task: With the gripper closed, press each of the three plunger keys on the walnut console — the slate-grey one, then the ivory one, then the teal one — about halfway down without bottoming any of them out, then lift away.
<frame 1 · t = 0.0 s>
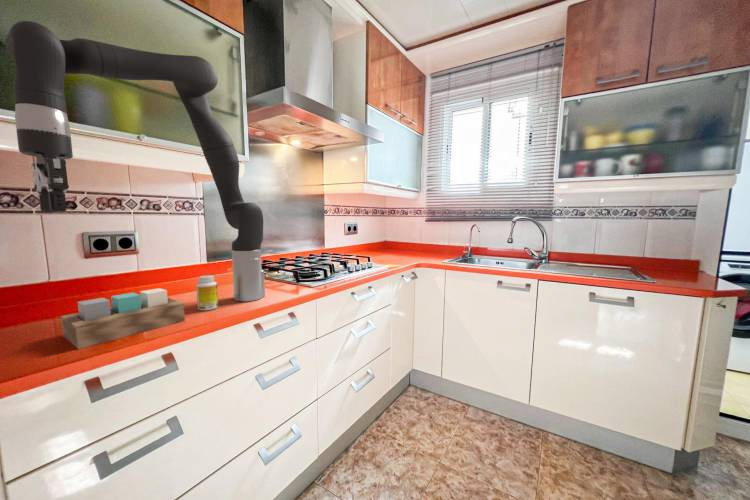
hand: (53, 211, 62), 29 cm above the counter, tool pointing down, fingers open, 8 cm apart
ivory key: (154, 298, 79), point 7 cm above the counter, slide at 0.0 cm
supplement bottle: (208, 309, 92), on the counter
console: (128, 328, 75), on the counter
teal key: (126, 303, 74), point 7 cm above the counter, slide at 0.0 cm
grey key: (94, 309, 69), point 7 cm above the counter, slide at 0.0 cm
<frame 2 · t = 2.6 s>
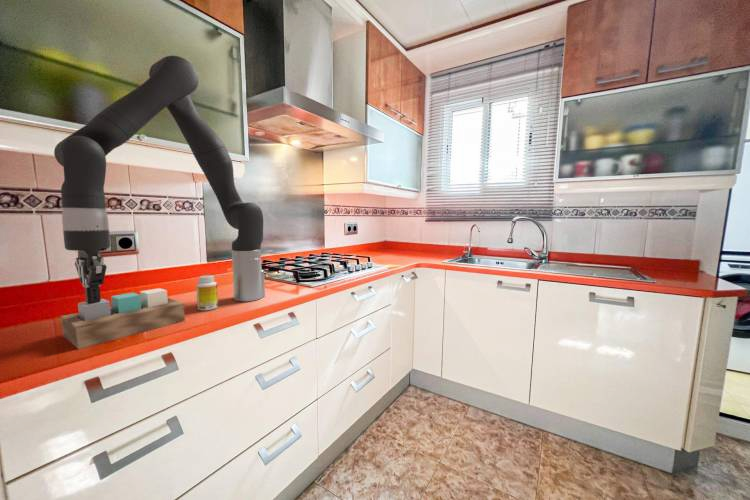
hand: (93, 302, 69), 8 cm above the counter, tool pointing down, fingers closed
grey key: (94, 310, 69), point 6 cm above the counter, slide at 0.3 cm, touching gripper
everything else where it was.
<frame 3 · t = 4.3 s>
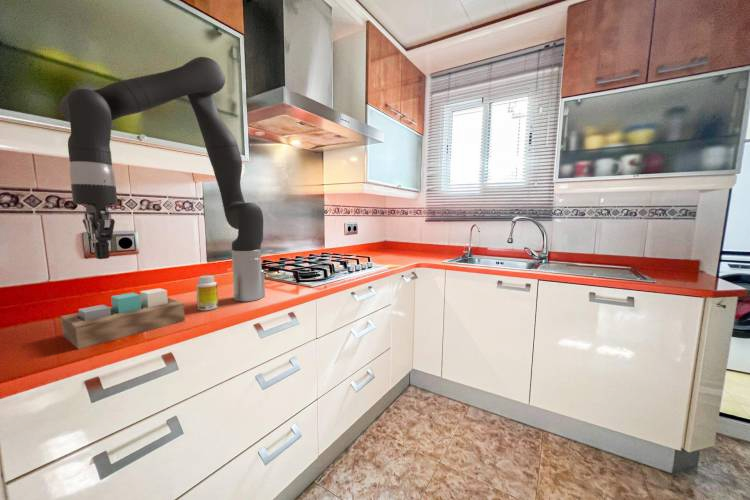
hand: (102, 258, 70), 18 cm above the counter, tool pointing down, fingers closed
grey key: (95, 316, 69), point 5 cm above the counter, slide at 1.7 cm
everything else where it was.
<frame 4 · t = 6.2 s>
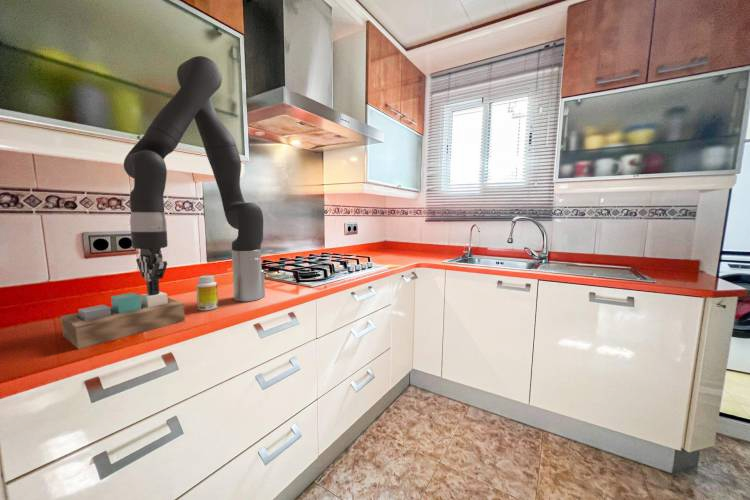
hand: (153, 294, 79), 8 cm above the counter, tool pointing down, fingers closed
ivory key: (154, 301, 79), point 6 cm above the counter, slide at 1.0 cm, touching gripper
everything else where it was.
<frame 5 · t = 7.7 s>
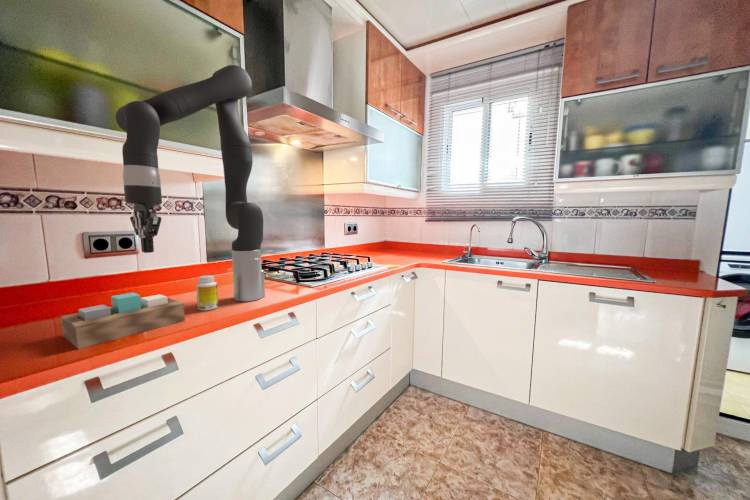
hand: (147, 252, 77), 19 cm above the counter, tool pointing down, fingers closed
ivory key: (154, 304, 79), point 5 cm above the counter, slide at 1.8 cm
everything else where it was.
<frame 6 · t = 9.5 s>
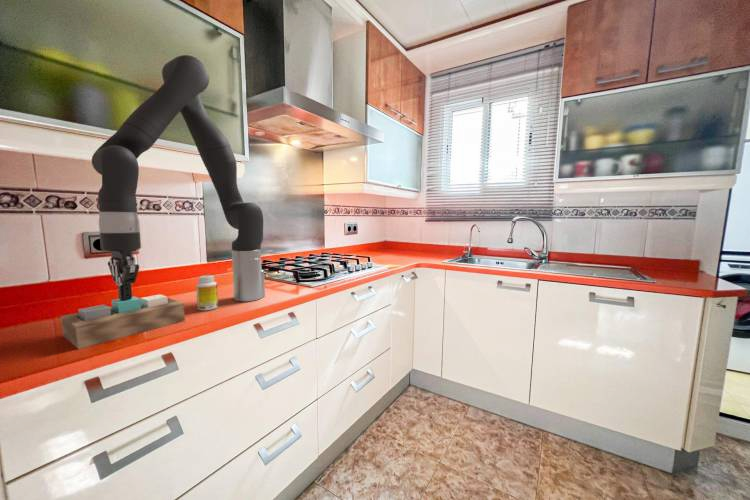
hand: (125, 299, 74), 8 cm above the counter, tool pointing down, fingers closed
teal key: (126, 307, 74), point 5 cm above the counter, slide at 1.0 cm, touching gripper
everything else where it was.
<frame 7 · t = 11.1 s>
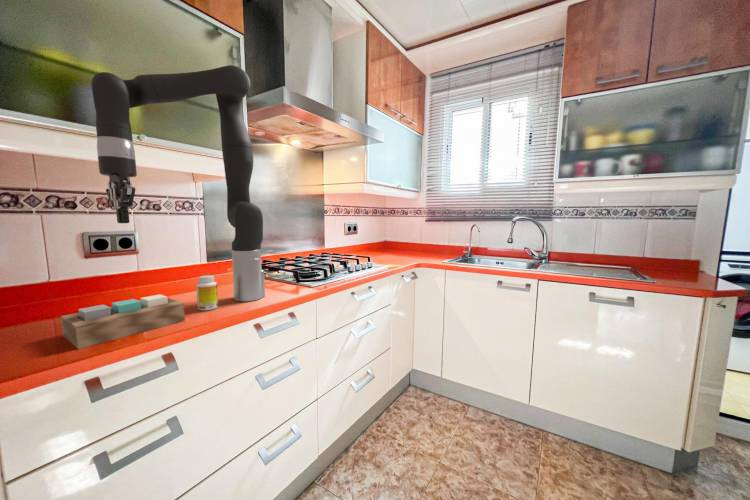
hand: (123, 223, 80), 27 cm above the counter, tool pointing down, fingers closed
teal key: (127, 309, 74), point 5 cm above the counter, slide at 1.7 cm
everything else where it was.
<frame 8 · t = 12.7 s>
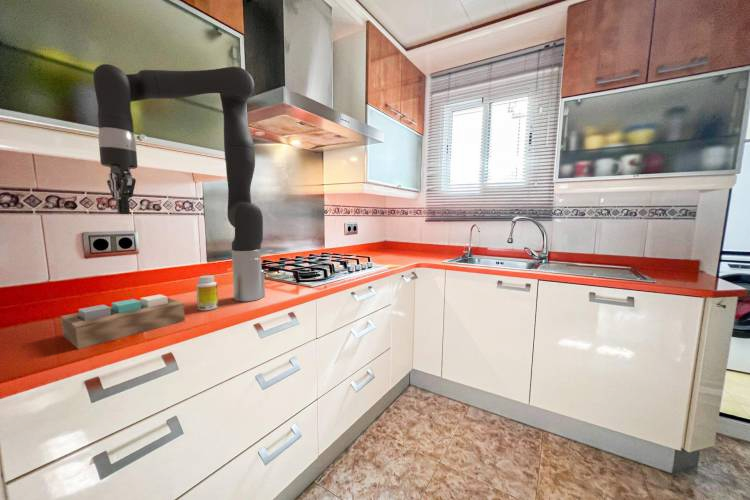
hand: (123, 213, 80), 29 cm above the counter, tool pointing down, fingers closed
nothing on the counter moved.
at the end: grey key slide at 1.7 cm; ivory key slide at 1.8 cm; teal key slide at 1.7 cm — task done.
